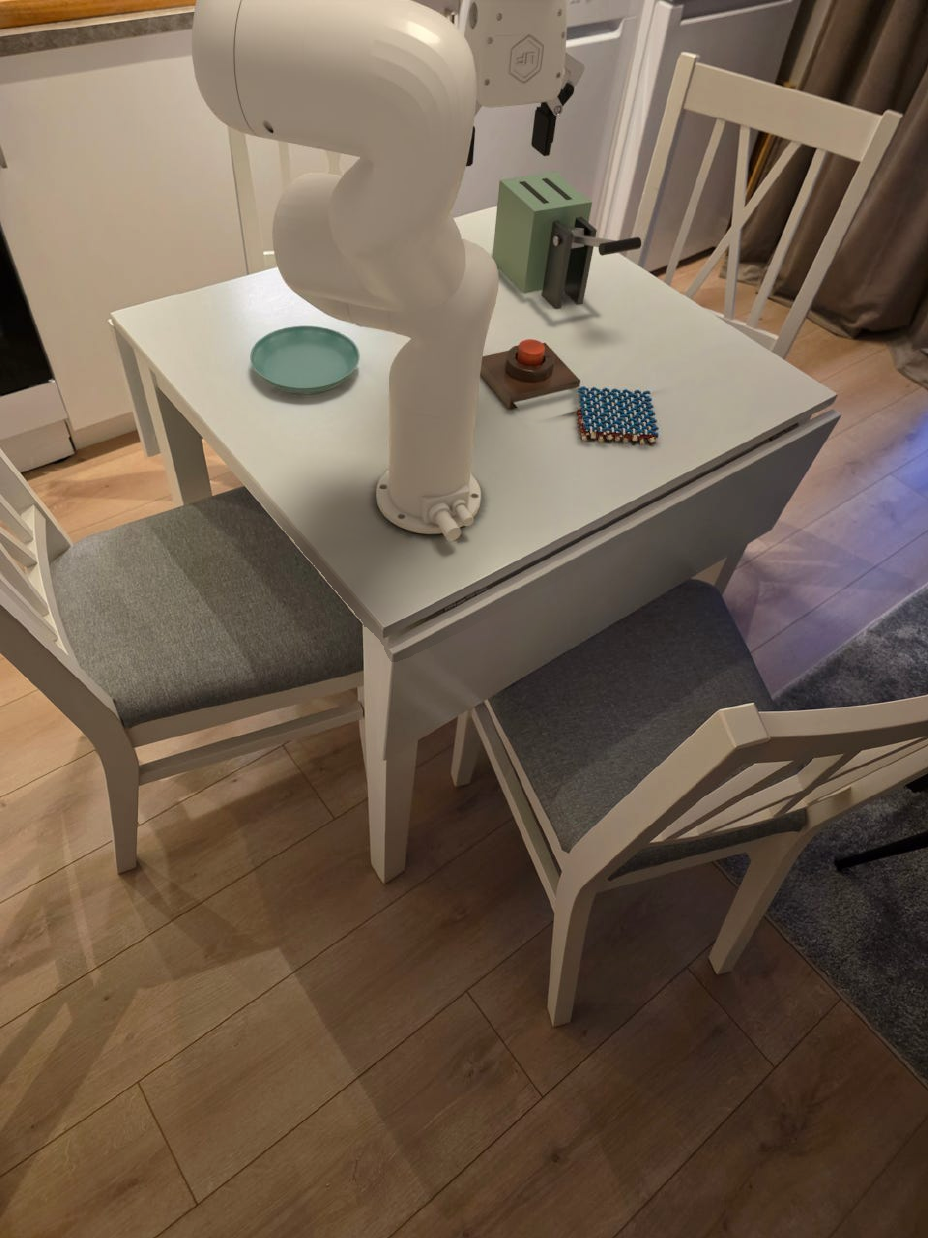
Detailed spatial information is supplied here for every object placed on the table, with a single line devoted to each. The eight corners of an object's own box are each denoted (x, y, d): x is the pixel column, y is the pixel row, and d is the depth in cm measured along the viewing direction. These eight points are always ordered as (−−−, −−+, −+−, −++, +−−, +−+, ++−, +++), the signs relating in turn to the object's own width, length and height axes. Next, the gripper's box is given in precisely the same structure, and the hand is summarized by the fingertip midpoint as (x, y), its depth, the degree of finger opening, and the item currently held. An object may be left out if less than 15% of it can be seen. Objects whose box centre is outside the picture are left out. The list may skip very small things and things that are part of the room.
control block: (577, 393, 115) (583, 368, 112) (509, 410, 111) (512, 385, 108) (543, 355, 120) (547, 330, 117) (476, 370, 117) (478, 345, 114)
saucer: (230, 367, 113) (227, 349, 111) (315, 330, 120) (314, 313, 118) (297, 417, 107) (295, 400, 105) (381, 375, 114) (381, 359, 112)
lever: (641, 252, 113) (641, 233, 111) (604, 259, 111) (604, 240, 110) (584, 242, 124) (584, 225, 123) (550, 248, 122) (550, 230, 121)
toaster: (576, 290, 133) (592, 201, 122) (522, 300, 130) (534, 210, 119) (542, 258, 139) (555, 171, 128) (490, 267, 136) (499, 178, 125)
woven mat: (572, 395, 115) (574, 382, 113) (646, 399, 115) (650, 387, 114) (578, 442, 108) (580, 429, 106) (657, 447, 109) (661, 434, 107)
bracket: (595, 315, 129) (612, 233, 119) (551, 324, 126) (565, 242, 116) (569, 289, 133) (583, 209, 123) (526, 298, 130) (537, 217, 121)
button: (547, 363, 113) (550, 350, 111) (525, 369, 112) (526, 355, 110) (535, 350, 115) (537, 336, 113) (512, 355, 113) (514, 341, 112)
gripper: (456, -22, 73) (446, 180, 86) (618, -30, 78) (586, 160, 92) (421, -45, 77) (417, 151, 90) (578, -51, 83) (552, 134, 96)
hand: (502, 156), depth 91 cm, fingers open, 9 cm apart
